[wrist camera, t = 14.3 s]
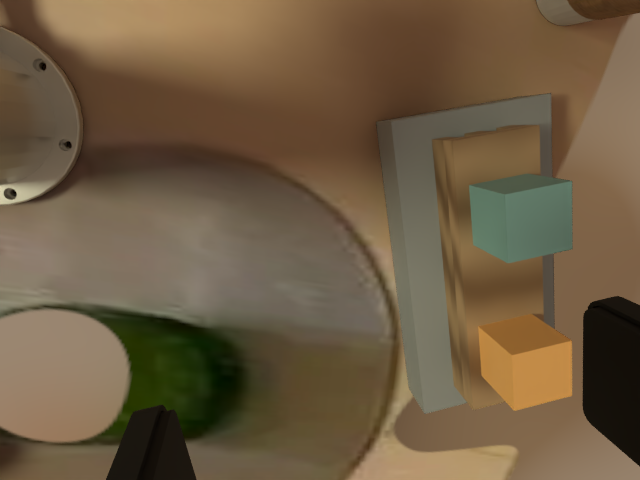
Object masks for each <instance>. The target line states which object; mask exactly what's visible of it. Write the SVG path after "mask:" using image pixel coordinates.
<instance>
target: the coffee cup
mask: <svg viewBox="0 0 640 480" xmlns="http://www.w3.org/2000/svg"><path fill="white" fill-rule="evenodd" d="M536 2H537V6H538V8H539V10H540V12H541V13H542V15H543V16H544V17H545V18H546V19H547V20H548V21H550V22H552V23H554V24H556V25H561V26H567V25H574V24H578V23H583V22H588V21H593V20H599V19H606V18H612V17H618V16H623V15H629V14H635V13H640V0H536Z"/></svg>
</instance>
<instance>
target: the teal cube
mask: <svg viewBox="0 0 640 480" xmlns="http://www.w3.org/2000/svg"><path fill="white" fill-rule="evenodd" d="M469 192H470V206H471V221H472V235H473V245H474V246H476V247H478V248H480V249H482V250H484V251H486V252H487V253H489V254H491V255H493V256H495V257H497V258H499V259H501V260H503V261H505V262H506V263H512V262H517V261H521V260H526V259H530V258H535V257H539V256H544V255H548V254H553V253H557V252H562V251H566V250H571V249H572V181H569V180H563V179H557V178H552V177H546V176H540V175H534V174H528V173H527V174H522V175H517V176H512V177H507V178H502V179H497V180H492V181H487V182H482V183H477V184H472V185H469Z"/></svg>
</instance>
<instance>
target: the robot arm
mask: <svg viewBox="0 0 640 480" xmlns="http://www.w3.org/2000/svg"><path fill="white" fill-rule="evenodd" d="M44 63H45V64H46V70H45V71H44V70H43V69H42V65H43V64H44ZM82 140H83V117H82V112H81V107H80V103H79V100H78V98H77V96H76V93H75V91H74V88H73V86H72V84H71V83H70V81H69V80H68V78H67V76H66V75H65V73H64V72H63V70H62V69H61V68H60V67H59V66H58V65H57V64H56V62H55V61H54V60H53V59H52V58H51V57H50V56H49V55H48V54H47V53H46V52H44V51H43V50H42V49H41V48H39V47H38V46H37V45H36V44H34V43H33V42H31V41H29V40H28V39H26V38H24V37H22V36H21V35H19V34H17V33H15V32H12V31H10V30H7V29H5V28H3V27H0V205H12V204H17V203H21V202H26V201H29V200H32V199H34V198H37V197H40V196H42V195H43V194H45V193H47V192H49V191H50V190H52V189H54V188H55V187H56V186H57V185H58V184H59V183H61V182H62V181H63V180H64V179H65V178H66V177H67V175H68V174H69V172H70V171H71V170H72V168H73V167H74V165H75V163H76V161H77V158H78V156H79V154H80V151H81V146H82ZM68 141H70V142H71V144H72V147H71V148H69V147H68V146H67V142H68ZM13 190H15V191H16V193H17V195H15V194H14V193H13ZM583 318H584V319H583V411H584V414H585V416H586V418H587V420H588V421H589V422H590V423H591V425H592V426H594V427H595V428H596V429H597V430H598V431H599V432H601V433H602V434H603V435H604V436H605V437H606V438H608V439H609V440H610V441H611V442H612V443H613V444H615V445H616V446H617V447H618V448H619V449H620V450H622V451H623V452H624V453H625V454H626V455H627V456H628V457H629V458H631V459H632V460H633V461H634V462H635V463H637V464H638V465H639V466H640V305H638V304H636V303H633V302H631V301H629V300H627V299H624V298H622V297H619V296H616V297H611V298H606V299H602V300H598V301H594V302H592V303H590V305H589V306H588V310H586V311H585V313H584V317H583ZM106 480H196V476H195V473H194V470H193V466H192V463H191V460H190V457H189V453H188V450H187V447H186V443H185V440H184V437H183V434H182V430H181V427H180V424H179V420H178V417H177V414H176V412H175V411H174V410H169V411H167V410H166V408H165V407H164V406H163V405H159V406H155V407H151V408H147V409H143V410H138V411H135V412H133V414H132V415H131V418H130V420H129V423H128V425H127V428H126V430H125V433H124V435H123V438H122V440H121V443H120V446H119V448H118V451H117V453H116V456H115V458H114V461H113V463H112V466H111V468H110V471H109V473H108V476H107V478H106Z"/></svg>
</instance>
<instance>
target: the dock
mask: <svg viewBox="0 0 640 480" xmlns="http://www.w3.org/2000/svg"><path fill="white" fill-rule="evenodd" d="M509 125H540V170H541V176H546V177H552V118H551V93H548V94H539V95H530V96H521V97H515V98H509V99H503V100H498V101H492V102H486V103H481V104H475V105H469V106H464V107H458V108H452V109H447V110H441V111H435V112H430V113H424V114H418V115H412V116H407V117H401V118H395V119H390V120H384V121H378V122H376V126H377V134H378V142H379V151H380V159H381V167H382V175H383V183H384V191H385V199H386V207H387V215H388V223H389V231H390V239H391V247H392V256H393V264H394V272H395V280H396V288H397V296H398V304H399V312H400V320H401V328H402V336H403V344H404V352H405V361H406V369H407V377H408V385H409V389H410V391H411V393H412V394H413V396H414V397H415V399H416V401H417V402H418V404H419V406H420V407H421V408H422V410H423V412H424V413H425V414H426V413H430V412H434V411H437V410H441V409H445V408H449V407H453V406H457V405H461V404H464V403H467V402H466V400H465V399H464V398H463V397H462V395H461V394H460V393H459V392H458V390H457V389H456V388H455V387H454V381H453V370H452V359H451V348H450V336H449V325H448V314H447V303H446V292H445V281H444V270H443V259H442V248H441V236H440V225H439V214H438V203H437V192H436V181H435V170H434V159H433V147H432V139H438V138H443V137H464V134H465V133H470V132H476V131H496V128H498V127H503V126H509ZM542 262H543V308H544V323H546V324H548V325H549V326H551V327H552V328H554V260H553V254H548V255H544V256H542ZM554 329H555V328H554Z"/></svg>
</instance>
